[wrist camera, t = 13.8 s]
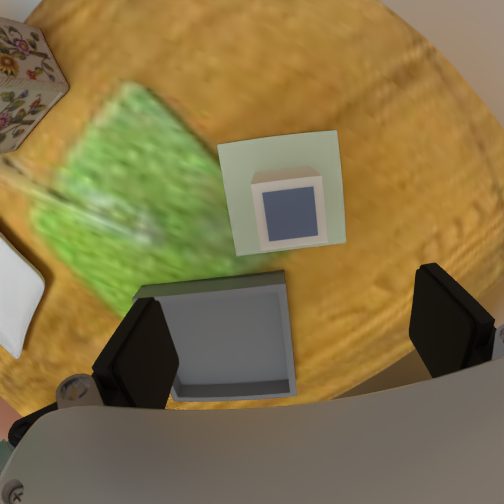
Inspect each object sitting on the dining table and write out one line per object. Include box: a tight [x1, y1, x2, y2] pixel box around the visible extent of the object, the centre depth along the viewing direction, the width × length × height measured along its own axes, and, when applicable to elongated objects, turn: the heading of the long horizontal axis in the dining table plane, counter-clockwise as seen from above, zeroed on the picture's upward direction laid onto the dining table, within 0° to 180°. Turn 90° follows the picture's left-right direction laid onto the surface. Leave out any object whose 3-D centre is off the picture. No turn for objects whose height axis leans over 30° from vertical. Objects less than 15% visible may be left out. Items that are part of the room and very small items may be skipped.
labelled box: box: [251, 166, 328, 251], centre depth 25 cm, size 5×5×7 cm
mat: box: [217, 130, 346, 256], centre depth 29 cm, size 11×11×1 cm
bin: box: [132, 270, 297, 402], centre depth 34 cm, size 16×16×3 cm
